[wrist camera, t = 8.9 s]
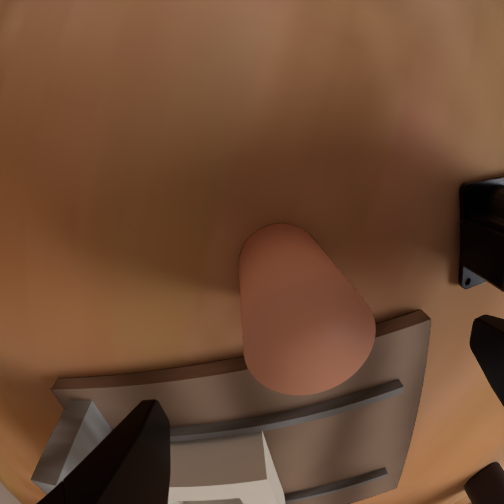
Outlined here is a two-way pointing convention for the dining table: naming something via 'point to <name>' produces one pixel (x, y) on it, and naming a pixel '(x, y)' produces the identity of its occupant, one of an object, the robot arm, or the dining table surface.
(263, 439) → the block
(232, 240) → the dining table surface
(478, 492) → the vinegar
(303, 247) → the dowel
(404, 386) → the board
